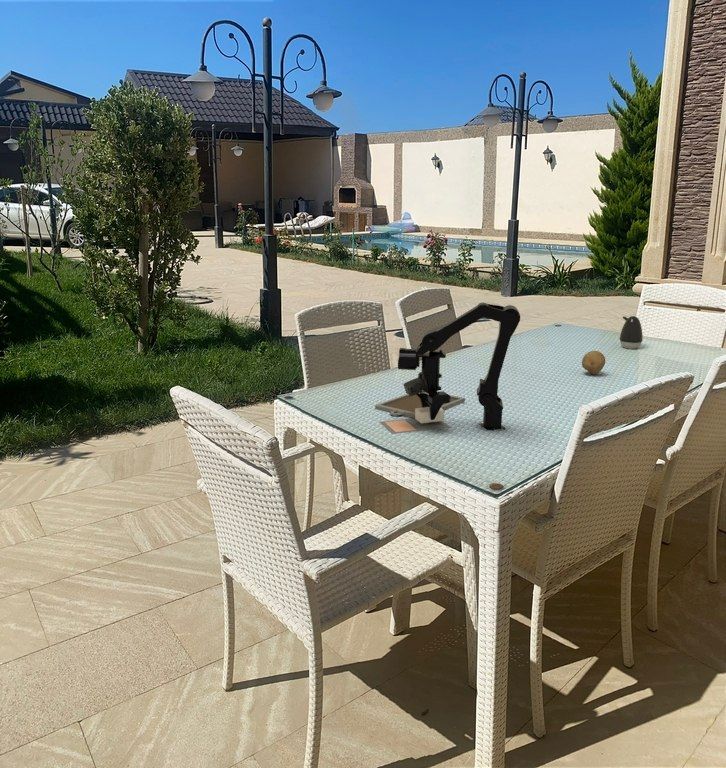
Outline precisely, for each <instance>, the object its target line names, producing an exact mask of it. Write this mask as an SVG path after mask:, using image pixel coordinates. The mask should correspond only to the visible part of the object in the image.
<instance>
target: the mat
mask: <svg viewBox="0 0 726 768" xmlns="http://www.w3.org/2000/svg"><path fill="white" fill-rule="evenodd" d="M379 424H381V426H383V427H384V428H385V429H386V430H387V431H389V433H390V434H391V435H397V434H406V433H413V432H422V431H430V430H439V429H440V430H441V429H447V428H448V429H449V428H451V427H452V426H450V425H449V424H448V423H446V422H445V421H437V422H429V423H420V422H419V421H417V420H416V419H415V418H404V419H394V420H385V421H379Z"/></svg>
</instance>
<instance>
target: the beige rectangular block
mask: <svg viewBox="0 0 726 768" xmlns="http://www.w3.org/2000/svg"><path fill="white" fill-rule="evenodd" d="M415 419H416V420H417V421H419V422H420V423H429V422H437V421H443V422H445V410H443V409H442V408H440V410H439V412H438V413H437V415H436V417H435V419H434V420H431V418H430V409H429V407H424V408H415Z"/></svg>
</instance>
